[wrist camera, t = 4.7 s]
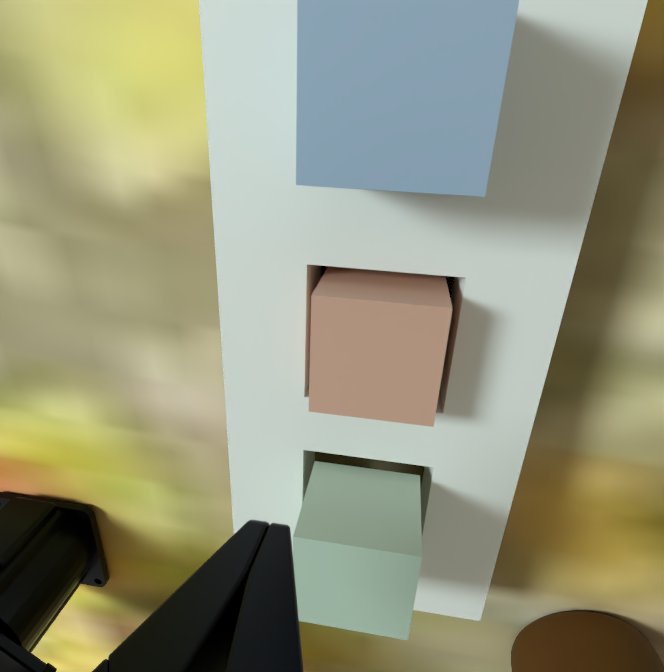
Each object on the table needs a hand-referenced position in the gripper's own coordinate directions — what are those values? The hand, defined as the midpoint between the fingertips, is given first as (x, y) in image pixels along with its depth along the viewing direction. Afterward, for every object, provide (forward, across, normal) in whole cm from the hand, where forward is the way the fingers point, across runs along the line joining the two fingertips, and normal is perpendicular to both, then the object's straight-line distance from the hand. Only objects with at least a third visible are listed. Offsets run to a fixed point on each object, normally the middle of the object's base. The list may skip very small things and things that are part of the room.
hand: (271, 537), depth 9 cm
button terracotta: (+11, -2, -1) cm, 11 cm away
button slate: (+9, -2, -8) cm, 12 cm away
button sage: (+9, -2, +8) cm, 12 cm away
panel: (+12, -2, 0) cm, 12 cm away
